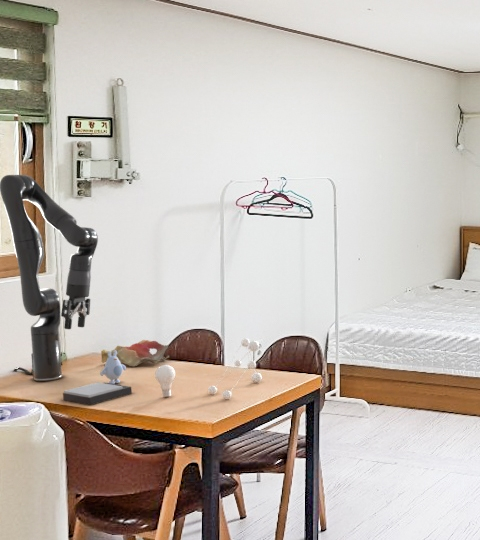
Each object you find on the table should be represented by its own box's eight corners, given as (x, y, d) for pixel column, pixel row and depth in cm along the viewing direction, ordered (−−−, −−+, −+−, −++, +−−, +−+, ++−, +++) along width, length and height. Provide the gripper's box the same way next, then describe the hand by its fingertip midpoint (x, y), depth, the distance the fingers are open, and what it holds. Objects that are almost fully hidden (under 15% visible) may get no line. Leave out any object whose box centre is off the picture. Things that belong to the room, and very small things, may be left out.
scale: (63, 400, 291) (62, 390, 291) (104, 389, 305) (104, 380, 304) (90, 405, 284) (89, 395, 284) (131, 393, 298) (131, 384, 298)
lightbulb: (170, 394, 297) (168, 362, 295) (180, 396, 293) (178, 364, 291) (153, 397, 292) (151, 365, 291) (163, 400, 288) (161, 368, 287)
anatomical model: (141, 371, 332) (135, 345, 331) (97, 376, 343) (91, 351, 342) (185, 355, 352) (179, 331, 352) (141, 361, 363) (136, 337, 362)
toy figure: (107, 387, 307) (104, 354, 305) (95, 385, 310) (93, 352, 309) (132, 381, 316) (130, 348, 314) (121, 379, 319) (119, 347, 318)
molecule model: (275, 387, 310) (282, 341, 305) (225, 408, 288) (232, 358, 283) (244, 374, 315) (250, 328, 310) (193, 393, 293) (199, 344, 288)
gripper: (79, 281, 319) (75, 325, 319) (57, 282, 305) (52, 328, 305) (99, 283, 318) (94, 327, 319) (77, 284, 304) (73, 330, 305)
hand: (74, 328), depth 312 cm, fingers open, 8 cm apart
